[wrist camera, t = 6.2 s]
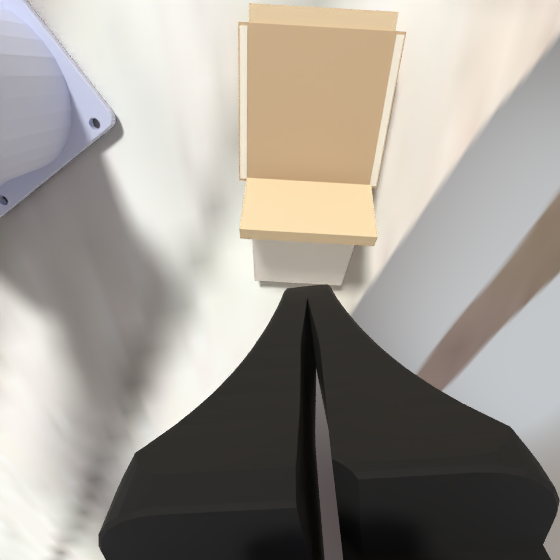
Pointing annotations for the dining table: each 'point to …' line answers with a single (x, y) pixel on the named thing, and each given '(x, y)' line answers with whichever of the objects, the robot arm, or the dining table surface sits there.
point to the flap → (306, 228)
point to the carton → (316, 92)
